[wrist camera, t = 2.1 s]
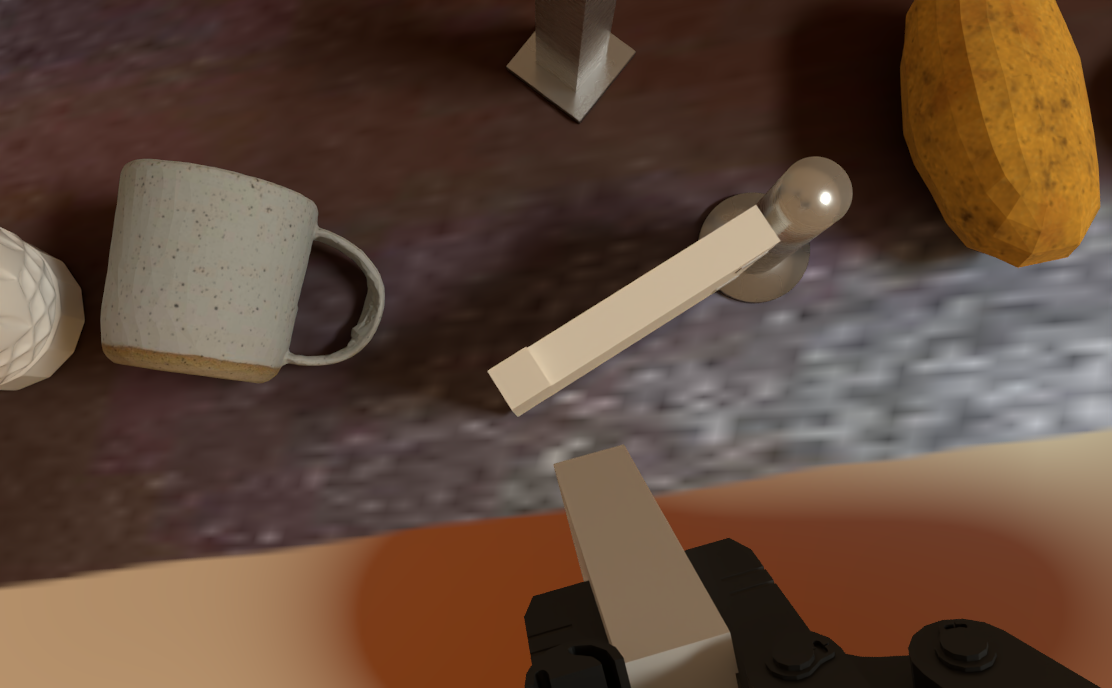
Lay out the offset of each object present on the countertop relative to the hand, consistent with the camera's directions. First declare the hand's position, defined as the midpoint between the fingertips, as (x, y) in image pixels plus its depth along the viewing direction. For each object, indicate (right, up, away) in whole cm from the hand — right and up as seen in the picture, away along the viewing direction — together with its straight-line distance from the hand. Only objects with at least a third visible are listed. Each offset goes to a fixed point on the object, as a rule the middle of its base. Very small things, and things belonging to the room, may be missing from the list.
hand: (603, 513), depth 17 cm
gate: (+2, +4, +21) cm, 21 cm away
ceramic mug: (-14, +6, +21) cm, 26 cm away
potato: (+18, +13, +23) cm, 32 cm away
